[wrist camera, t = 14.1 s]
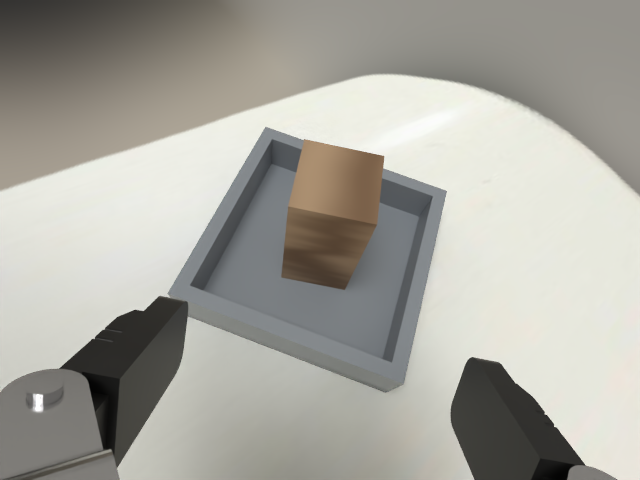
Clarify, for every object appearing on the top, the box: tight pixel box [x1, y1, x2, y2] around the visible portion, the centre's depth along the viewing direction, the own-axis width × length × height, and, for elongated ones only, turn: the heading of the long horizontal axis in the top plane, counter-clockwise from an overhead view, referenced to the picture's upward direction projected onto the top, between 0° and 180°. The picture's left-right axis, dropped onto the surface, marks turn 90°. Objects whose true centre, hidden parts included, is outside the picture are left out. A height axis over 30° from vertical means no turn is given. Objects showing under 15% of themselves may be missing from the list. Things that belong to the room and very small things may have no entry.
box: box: [168, 127, 447, 392], centre depth 30 cm, size 16×16×4 cm
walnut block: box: [281, 139, 384, 290], centre depth 27 cm, size 5×5×10 cm
